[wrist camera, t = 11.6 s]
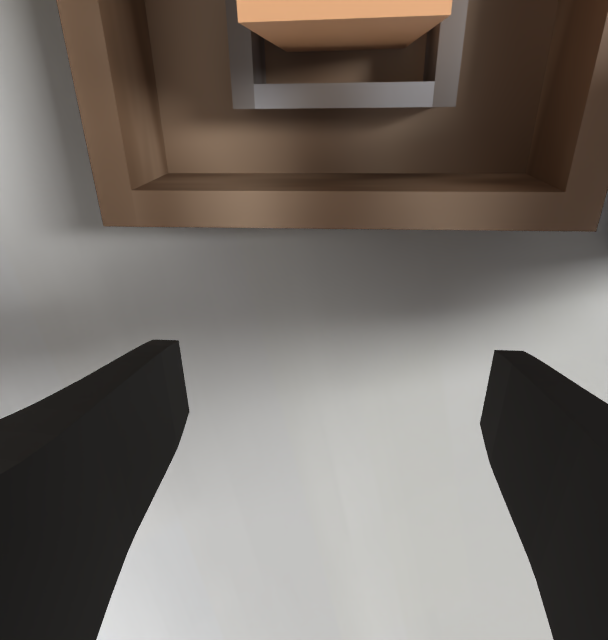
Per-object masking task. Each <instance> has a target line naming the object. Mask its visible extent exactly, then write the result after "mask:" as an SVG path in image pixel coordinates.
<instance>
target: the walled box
mask: <svg viewBox="0 0 608 640" xmlns="http://www.w3.org/2000/svg"><path fill="white" fill-rule="evenodd" d="M56 1H57V6H58V11H59V15H60V20H61V25H62V30H63V35H64V39H65V44H66V49H67V54H68V58H69V63H70V68H71V73H72V78H73V82H74V87H75V92H76V97H77V101H78V106H79V111H80V116H81V121H82V125H83V130H84V135H85V140H86V145H87V149H88V154H89V159H90V164H91V168H92V173H93V178H94V183H95V188H96V192H97V197H98V202H99V207H100V211H101V216H102V221H103V226H126V227H220V228H313V229H407V230H500V231H594V232H596V230H597V226H598V223H599V219H600V215H601V212H602V208H603V204H604V201H605V197H606V193H607V190H608V0H452V9H451V15H450V16H449V17H447V18H446V19H444V20H443V21H442V22H440V23H439V24H437V25H436V26H435V27H433V28H432V29H431V30H429V31H428V32H426V33H425V34H424V35H422V36H421V37H419V38H418V39H417V40H415V41H414V42H412V43H411V44H410V45H408V46H407V47H405V48H404V49H373V50H340V51H307V52H286V51H284V50H283V49H281V48H279V47H278V46H276V45H274V44H273V43H271V42H269V41H268V40H266V39H264V38H263V37H261V36H259V35H258V34H256V33H254V32H253V31H251V30H250V29H248V28H246V27H245V26H243V25H241V24H240V23H238V15H237V1H236V0H56Z"/></svg>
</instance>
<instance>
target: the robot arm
mask: <svg viewBox="0 0 608 640" xmlns="http://www.w3.org/2000/svg"><path fill="white" fill-rule="evenodd" d="M188 414H189V406H188V399H187V393H186V386H185V380H184V373H183V367H182V360H181V353H180V347H179V341H178V340H152V341H149V342H147V343H145V344H143V345H141V346H139V347H137V348H135V349H134V350H132V351H130V352H128V353H126V354H125V355H123V356H121V357H119V358H118V359H116V360H114V361H112V362H111V363H109V364H107V365H105V366H104V367H102V368H100V369H98V370H97V371H95V372H93V373H91V374H90V375H88V376H86V377H84V378H83V379H81V380H79V381H77V382H75V383H73V384H71V385H69V386H67V387H66V388H64V389H62V390H60V391H58V392H56V393H54V394H52V395H50V396H48V397H46V398H45V399H43V400H41V401H39V402H37V403H35V404H33V405H31V406H28V407H26V408H24V409H22V410H20V411H18V412H16V413H13V414H11V415H9V416H6V417H4V418H2V419H0V640H96V639H97V636H98V633H99V630H100V627H101V624H102V621H103V618H104V615H105V612H106V610H107V607H108V604H109V601H110V598H111V595H112V593H113V590H114V587H115V585H116V582H117V579H118V576H119V574H120V571H121V568H122V566H123V563H124V560H125V558H126V555H127V552H128V550H129V548H130V546H131V543H132V541H133V539H134V536H135V534H136V532H137V530H138V528H139V526H140V524H141V522H142V520H143V518H144V516H145V514H146V512H147V510H148V508H149V506H150V504H151V502H152V499H153V497H154V495H155V493H156V491H157V489H158V487H159V485H160V483H161V481H162V479H163V477H164V475H165V473H166V471H167V469H168V467H169V465H170V463H171V461H172V459H173V456H174V454H175V452H176V450H177V448H178V445H179V442H180V439H181V436H182V433H183V430H184V427H185V424H186V420H187V417H188ZM480 426H481V430H482V434H483V439H484V443H485V447H486V451H487V454H488V458H489V462H490V465H491V468H492V470H493V473H494V475H495V478H496V480H497V483H498V485H499V488H500V490H501V493H502V495H503V498H504V500H505V503H506V505H507V507H508V510H509V512H510V515H511V517H512V520H513V522H514V525H515V527H516V529H517V532H518V534H519V537H520V539H521V542H522V544H523V546H524V549H525V551H526V554H527V556H528V559H529V562H530V564H531V567H532V570H533V573H534V575H535V578H536V581H537V585H538V588H539V591H540V595H541V598H542V601H543V605H544V608H545V612H546V615H547V618H548V622H549V625H550V629H551V632H552V636H553V639H554V640H608V404H607V403H606V402H604V401H602V400H601V399H599V398H598V397H596V396H594V395H593V394H591V393H590V392H588V391H587V390H585V389H583V388H582V387H580V386H579V385H577V384H576V383H574V382H573V381H571V380H570V379H568V378H567V377H565V376H563V375H562V374H560V373H559V372H557V371H556V370H554V369H553V368H551V367H550V366H548V365H547V364H545V363H543V362H542V361H540V360H539V359H537V358H535V357H533V356H532V355H530V354H528V353H526V352H524V351H507V350H495V351H494V356H493V361H492V366H491V371H490V376H489V381H488V386H487V391H486V396H485V401H484V406H483V411H482V416H481V421H480Z"/></svg>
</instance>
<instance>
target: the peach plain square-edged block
mask: <svg viewBox="0 0 608 640" xmlns="http://www.w3.org/2000/svg"><path fill="white" fill-rule="evenodd" d="M236 1H237V15H238V23H240V24H241V25H243V26H245V27H246V28H248V29H250V30H251V31H253V32H254V33H256V34H258V35H259V36H261V37H263V38H264V39H266V40H268V41H269V42H271V43H273V44H274V45H276V46H278V47H279V48H281V49H283V50H284V51H286V52H307V51H340V50H373V49H404V48H405V47H407V46H408V45H410V44H411V43H412V42H414V41H415V40H417V39H418V38H419V37H421V36H422V35H424V34H425V33H426V32H428V31H429V30H431V29H432V28H433V27H435V26H436V25H437V24H439V23H440V22H442V21H443V20H444V19H446V18H447V17H449V16H450V15H451V9H452V0H236Z"/></svg>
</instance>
